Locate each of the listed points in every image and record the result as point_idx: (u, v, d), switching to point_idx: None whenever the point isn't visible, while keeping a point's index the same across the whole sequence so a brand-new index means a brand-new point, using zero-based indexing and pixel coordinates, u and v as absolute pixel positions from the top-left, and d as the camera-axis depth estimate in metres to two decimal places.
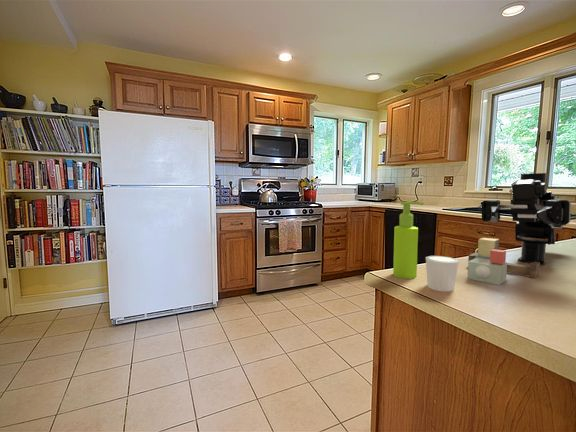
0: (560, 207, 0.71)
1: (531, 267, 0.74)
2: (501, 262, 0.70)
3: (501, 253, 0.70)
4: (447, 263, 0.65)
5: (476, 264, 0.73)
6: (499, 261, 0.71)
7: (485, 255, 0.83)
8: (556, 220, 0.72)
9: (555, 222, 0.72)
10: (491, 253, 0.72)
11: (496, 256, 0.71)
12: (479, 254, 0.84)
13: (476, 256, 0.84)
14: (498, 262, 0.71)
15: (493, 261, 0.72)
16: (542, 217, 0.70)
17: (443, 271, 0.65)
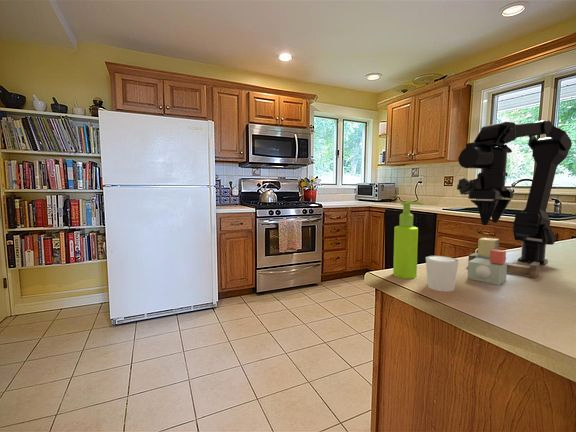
0: (476, 202, 0.78)
1: (531, 267, 0.74)
2: (501, 262, 0.70)
3: (501, 253, 0.70)
4: (447, 263, 0.65)
5: (476, 264, 0.73)
6: (499, 261, 0.71)
7: (485, 255, 0.83)
8: None
9: (494, 202, 0.76)
10: (491, 253, 0.72)
11: (496, 256, 0.71)
12: (479, 254, 0.84)
13: (476, 256, 0.84)
14: (498, 262, 0.71)
15: (493, 261, 0.72)
16: (487, 219, 0.79)
17: (443, 271, 0.65)
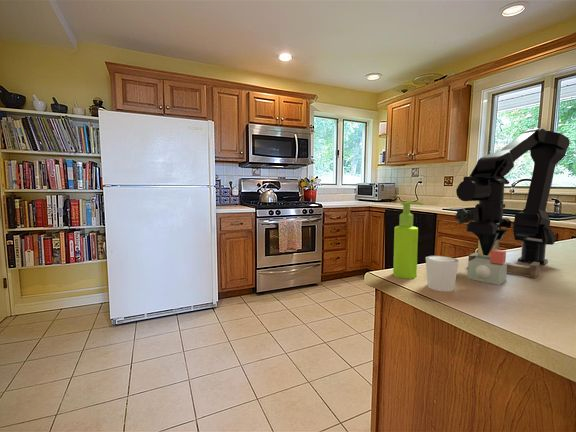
0: (477, 233, 0.81)
1: (531, 267, 0.74)
2: (501, 262, 0.70)
3: (501, 253, 0.70)
4: (447, 263, 0.65)
5: (476, 264, 0.73)
6: (499, 261, 0.71)
7: (485, 255, 0.83)
8: None
9: (494, 235, 0.78)
10: (491, 253, 0.72)
11: (496, 256, 0.71)
12: (479, 254, 0.84)
13: (476, 256, 0.84)
14: (498, 262, 0.71)
15: (493, 261, 0.72)
16: (488, 250, 0.81)
17: (443, 271, 0.65)
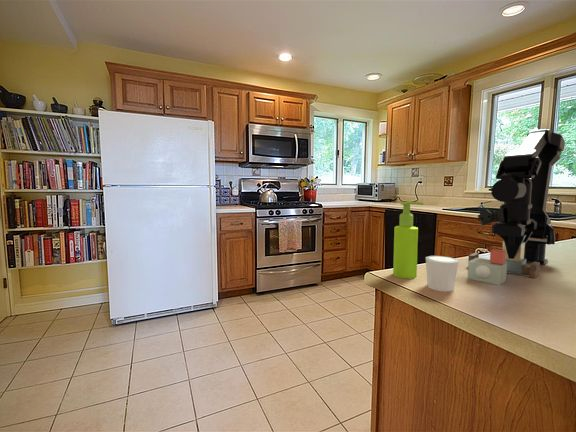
0: (503, 235, 0.76)
1: (531, 267, 0.74)
2: (501, 262, 0.70)
3: (501, 253, 0.70)
4: (447, 263, 0.65)
5: (476, 264, 0.73)
6: (499, 261, 0.71)
7: (510, 259, 0.78)
8: None
9: (521, 237, 0.74)
10: (491, 253, 0.72)
11: (496, 256, 0.71)
12: None
13: None
14: (498, 262, 0.71)
15: (493, 261, 0.72)
16: (514, 253, 0.77)
17: (443, 271, 0.65)
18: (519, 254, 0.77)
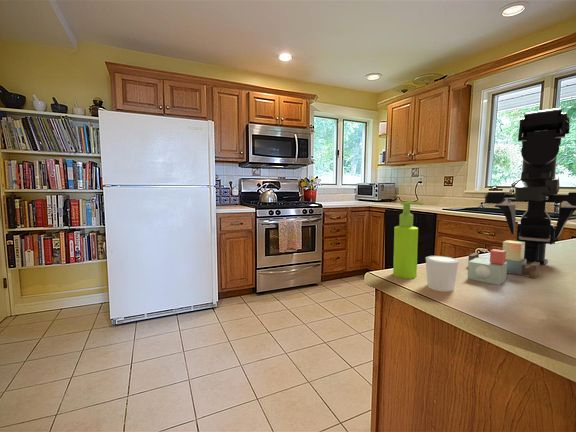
0: None
1: (531, 267, 0.74)
2: (501, 262, 0.70)
3: (501, 253, 0.70)
4: (447, 263, 0.65)
5: (476, 264, 0.73)
6: (499, 261, 0.71)
7: (510, 259, 0.78)
8: None
9: (575, 209, 0.62)
10: (491, 253, 0.72)
11: (496, 256, 0.71)
12: None
13: None
14: (498, 262, 0.71)
15: (493, 261, 0.72)
16: (561, 230, 0.63)
17: (443, 271, 0.65)
18: (519, 254, 0.77)
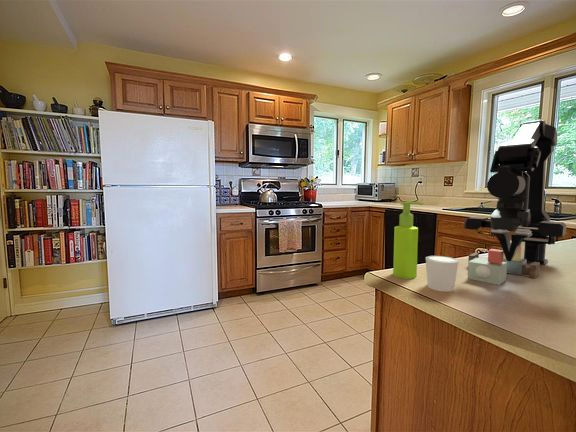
0: (527, 237, 0.66)
1: (531, 267, 0.74)
2: (499, 262, 0.71)
3: (499, 253, 0.70)
4: (447, 263, 0.65)
5: (476, 264, 0.73)
6: (497, 261, 0.71)
7: None
8: None
9: None
10: (489, 253, 0.72)
11: (494, 256, 0.71)
12: (504, 258, 0.79)
13: None
14: (496, 262, 0.71)
15: (491, 261, 0.72)
16: (514, 254, 0.70)
17: (443, 271, 0.65)
18: (519, 254, 0.77)
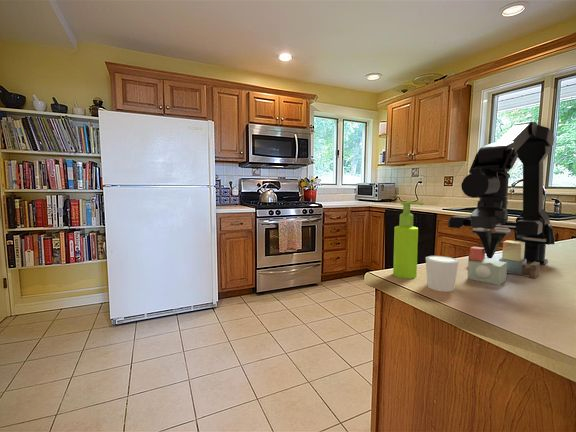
0: None
1: (531, 267, 0.74)
2: (480, 259, 0.74)
3: (480, 250, 0.74)
4: (447, 263, 0.65)
5: (476, 264, 0.73)
6: (478, 258, 0.74)
7: (510, 259, 0.78)
8: None
9: None
10: (471, 250, 0.75)
11: (476, 253, 0.74)
12: (504, 258, 0.79)
13: (500, 260, 0.79)
14: (477, 259, 0.74)
15: (473, 258, 0.75)
16: None
17: (443, 271, 0.65)
18: (519, 254, 0.77)
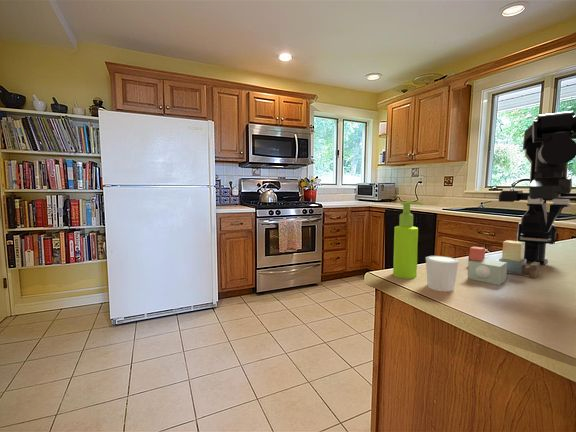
0: (567, 206, 0.66)
1: (531, 267, 0.74)
2: (480, 259, 0.74)
3: (480, 250, 0.74)
4: (447, 263, 0.65)
5: (476, 264, 0.73)
6: (478, 258, 0.74)
7: (510, 259, 0.78)
8: None
9: None
10: (471, 250, 0.75)
11: (475, 253, 0.74)
12: (504, 258, 0.79)
13: (500, 260, 0.79)
14: (477, 259, 0.74)
15: (473, 258, 0.75)
16: (551, 225, 0.69)
17: (443, 271, 0.65)
18: (519, 254, 0.77)
